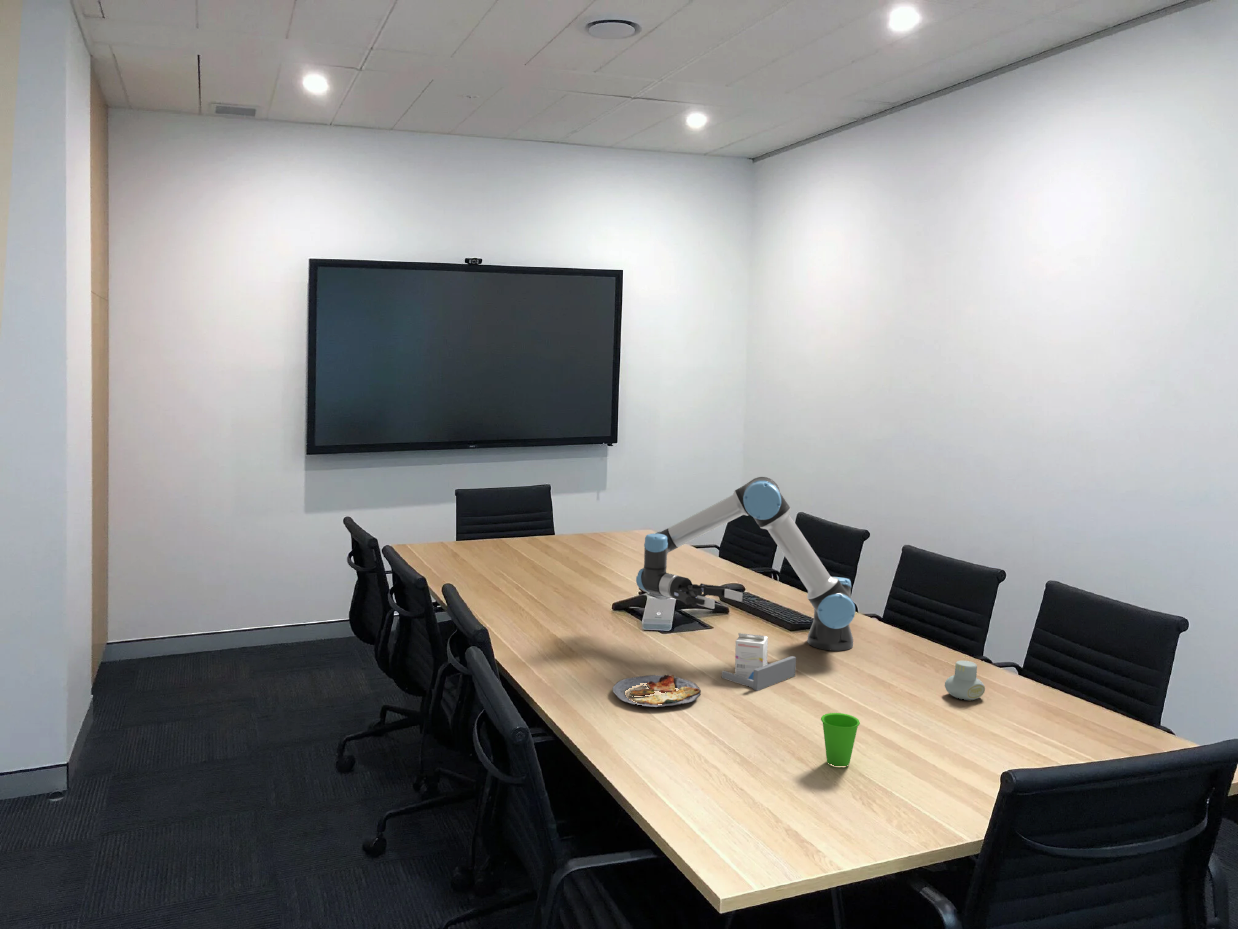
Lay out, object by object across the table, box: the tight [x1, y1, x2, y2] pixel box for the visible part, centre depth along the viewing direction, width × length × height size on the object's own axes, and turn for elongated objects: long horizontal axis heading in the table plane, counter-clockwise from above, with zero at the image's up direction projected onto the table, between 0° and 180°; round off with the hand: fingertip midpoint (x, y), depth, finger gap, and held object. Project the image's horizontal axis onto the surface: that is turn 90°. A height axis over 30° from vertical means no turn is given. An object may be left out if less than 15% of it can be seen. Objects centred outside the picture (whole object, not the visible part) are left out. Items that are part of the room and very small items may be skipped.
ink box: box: [734, 632, 769, 680], centre depth 289 cm, size 9×8×13 cm
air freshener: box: [944, 660, 986, 701], centre depth 275 cm, size 11×8×10 cm
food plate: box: [612, 674, 702, 708], centre depth 271 cm, size 25×23×4 cm
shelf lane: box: [721, 655, 797, 692], centre depth 288 cm, size 14×19×6 cm
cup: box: [820, 712, 861, 766], centre depth 228 cm, size 9×9×11 cm
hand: (728, 600), depth 295 cm, fingers open, 13 cm apart
